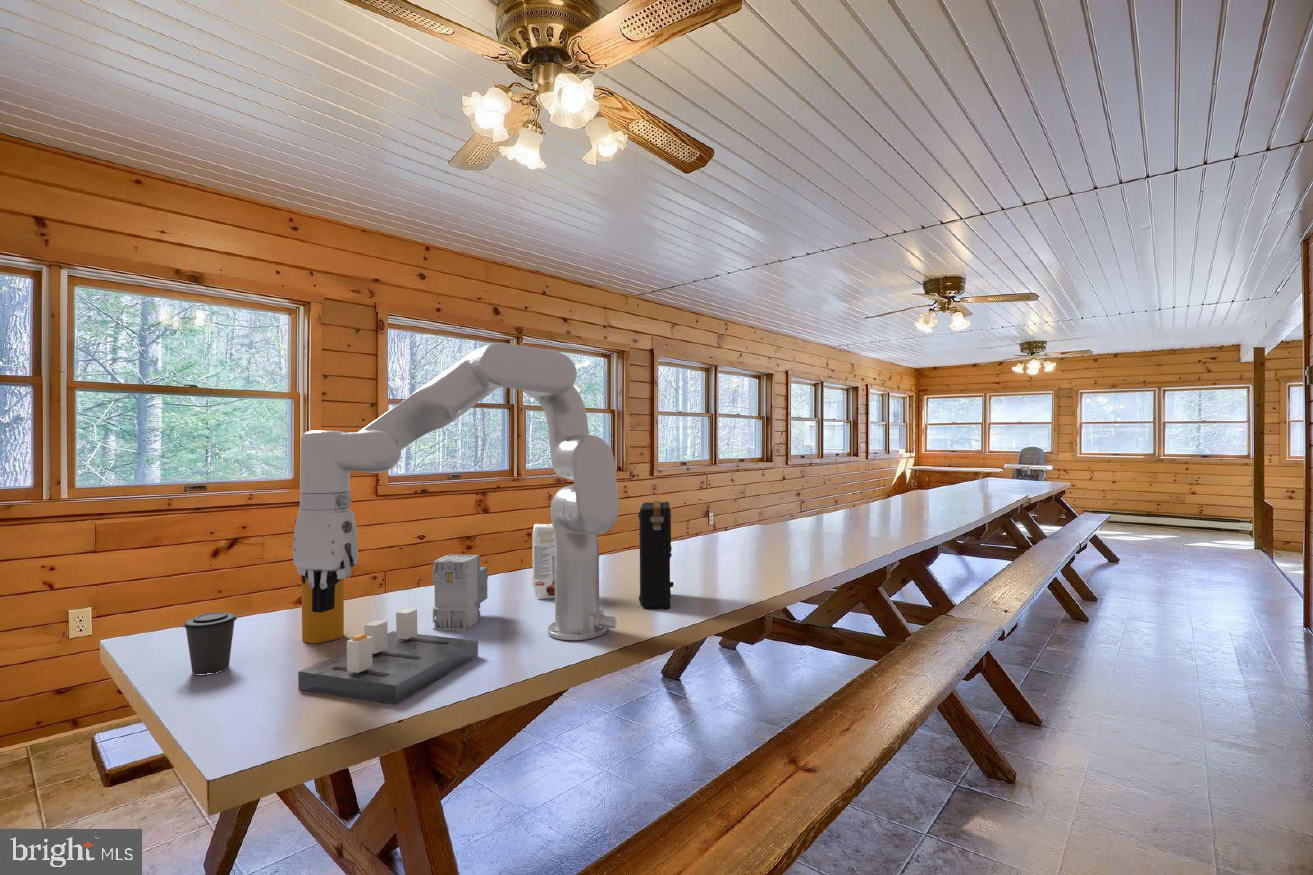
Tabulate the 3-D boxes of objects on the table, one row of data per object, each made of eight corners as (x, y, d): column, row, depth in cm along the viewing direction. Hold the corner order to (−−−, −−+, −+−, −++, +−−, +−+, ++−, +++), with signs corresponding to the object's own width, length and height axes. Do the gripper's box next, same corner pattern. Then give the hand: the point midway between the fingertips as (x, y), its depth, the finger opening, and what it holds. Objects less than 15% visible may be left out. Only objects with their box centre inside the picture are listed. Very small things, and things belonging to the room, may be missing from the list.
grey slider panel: (477, 656, 116) (477, 640, 116) (396, 704, 95) (395, 684, 95) (392, 646, 122) (392, 630, 122) (298, 689, 101) (298, 670, 101)
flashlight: (356, 514, 128) (304, 519, 121) (357, 637, 128) (305, 649, 121) (338, 511, 135) (288, 515, 128) (339, 627, 135) (289, 638, 128)
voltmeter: (674, 610, 147) (673, 507, 147) (638, 610, 147) (637, 507, 147) (673, 593, 162) (672, 500, 162) (640, 593, 162) (640, 500, 162)
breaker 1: (387, 648, 111) (387, 621, 111) (375, 653, 108) (375, 625, 108) (377, 646, 112) (376, 619, 112) (364, 652, 109) (364, 624, 109)
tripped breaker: (372, 666, 102) (372, 633, 102) (358, 672, 99) (358, 638, 99) (361, 664, 103) (360, 631, 103) (347, 671, 100) (346, 637, 100)
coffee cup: (206, 661, 115) (206, 608, 115) (248, 661, 114) (247, 608, 114) (170, 678, 106) (170, 621, 106) (215, 678, 106) (215, 621, 106)
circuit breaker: (490, 611, 146) (489, 549, 146) (465, 630, 132) (465, 561, 132) (460, 611, 147) (459, 549, 147) (432, 629, 133) (432, 561, 133)
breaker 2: (417, 634, 119) (417, 609, 119) (406, 639, 116) (406, 613, 116) (407, 633, 120) (407, 608, 120) (396, 638, 117) (396, 612, 117)
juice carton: (567, 598, 158) (567, 525, 158) (534, 600, 156) (533, 527, 156) (563, 591, 165) (563, 521, 165) (531, 593, 163) (531, 523, 163)
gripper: (376, 502, 105) (375, 609, 104) (309, 499, 109) (308, 601, 109) (342, 506, 97) (340, 620, 97) (271, 503, 102) (270, 612, 102)
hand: (323, 610), depth 103 cm, fingers closed
